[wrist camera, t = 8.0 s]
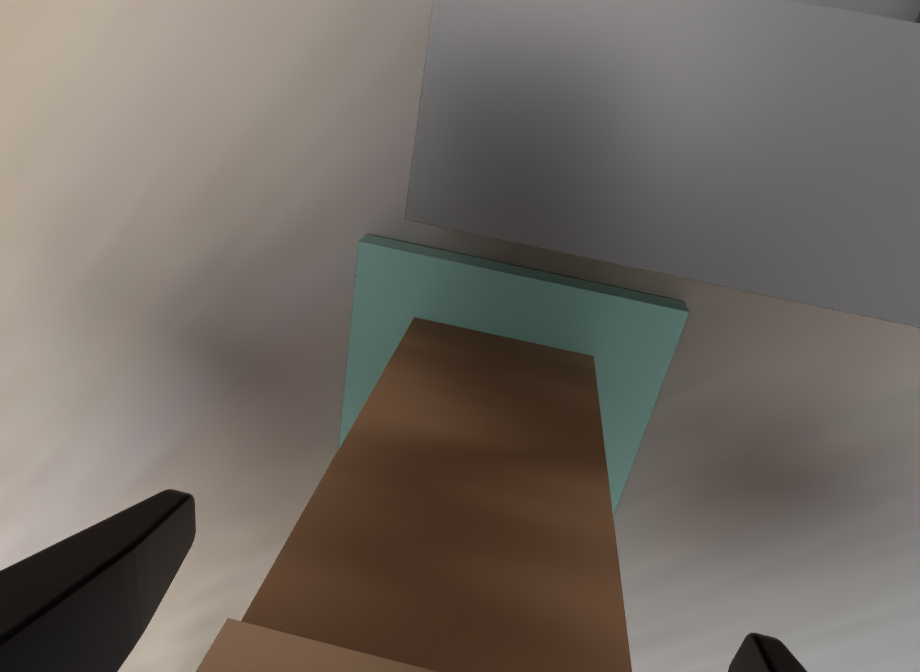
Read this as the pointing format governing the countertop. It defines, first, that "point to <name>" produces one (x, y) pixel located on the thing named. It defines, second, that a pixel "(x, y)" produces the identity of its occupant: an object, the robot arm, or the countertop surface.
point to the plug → (451, 526)
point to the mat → (516, 329)
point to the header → (685, 140)
